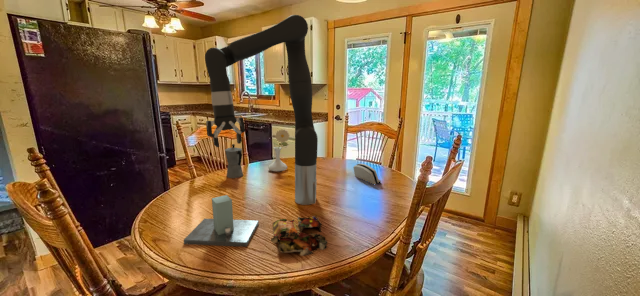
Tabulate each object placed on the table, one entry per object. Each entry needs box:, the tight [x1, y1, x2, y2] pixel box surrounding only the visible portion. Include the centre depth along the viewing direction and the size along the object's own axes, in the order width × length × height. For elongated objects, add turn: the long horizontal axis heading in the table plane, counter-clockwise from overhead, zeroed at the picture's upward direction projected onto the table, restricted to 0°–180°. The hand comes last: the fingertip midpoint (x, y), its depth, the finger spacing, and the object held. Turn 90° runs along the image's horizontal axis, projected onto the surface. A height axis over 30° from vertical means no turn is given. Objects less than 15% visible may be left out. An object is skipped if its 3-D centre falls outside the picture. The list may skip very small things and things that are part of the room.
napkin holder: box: [353, 163, 382, 185], centre depth 145 cm, size 17×5×10 cm, turn 31°
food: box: [270, 215, 329, 256], centre depth 89 cm, size 22×19×4 cm
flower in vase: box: [268, 129, 290, 172], centre depth 157 cm, size 13×11×25 cm
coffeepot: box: [224, 143, 244, 179], centre depth 146 cm, size 15×9×18 cm, turn 43°
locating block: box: [211, 194, 234, 235], centre depth 89 cm, size 5×5×11 cm
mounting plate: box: [183, 218, 260, 248], centre depth 90 cm, size 20×14×4 cm
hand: (228, 145), depth 105 cm, fingers open, 8 cm apart
